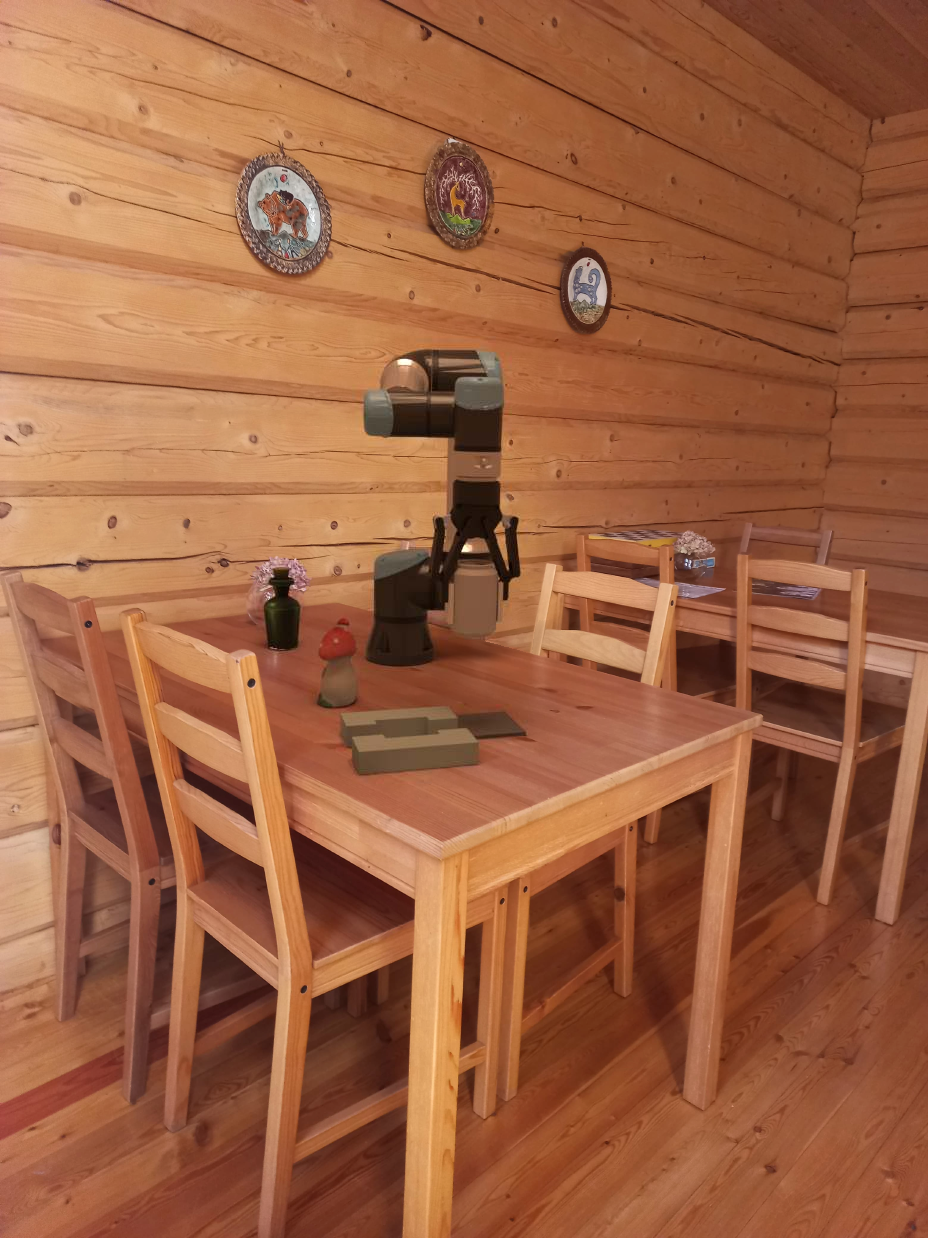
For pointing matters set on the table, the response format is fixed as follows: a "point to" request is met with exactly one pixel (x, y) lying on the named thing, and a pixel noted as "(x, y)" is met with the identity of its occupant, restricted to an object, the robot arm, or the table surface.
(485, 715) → the coaster
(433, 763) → the pocket block
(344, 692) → the decorative ornament
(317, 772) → the table surface
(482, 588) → the can
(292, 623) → the potion bottle
